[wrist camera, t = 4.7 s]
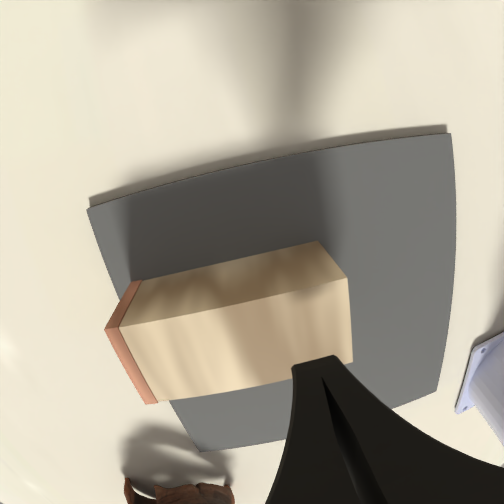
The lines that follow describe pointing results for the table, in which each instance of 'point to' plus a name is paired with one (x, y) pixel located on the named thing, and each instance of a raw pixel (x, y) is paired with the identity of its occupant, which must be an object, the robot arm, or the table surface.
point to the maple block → (232, 323)
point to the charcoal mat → (300, 232)
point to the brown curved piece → (183, 494)
